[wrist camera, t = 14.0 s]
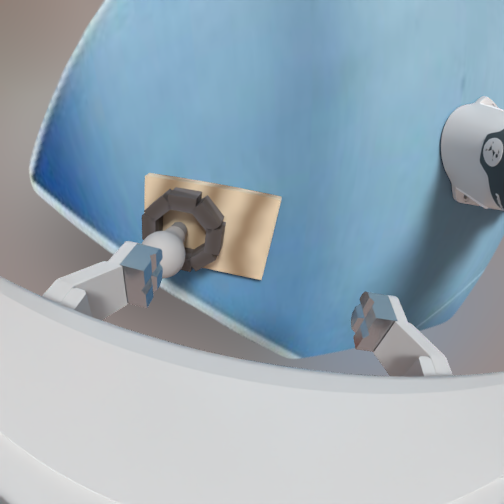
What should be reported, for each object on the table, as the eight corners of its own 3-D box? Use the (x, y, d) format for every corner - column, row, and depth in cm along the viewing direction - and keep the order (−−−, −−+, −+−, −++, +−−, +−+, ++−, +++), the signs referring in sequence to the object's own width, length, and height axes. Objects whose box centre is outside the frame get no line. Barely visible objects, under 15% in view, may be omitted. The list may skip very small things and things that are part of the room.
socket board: (281, 196, 39) (280, 208, 35) (261, 274, 46) (259, 291, 43) (149, 173, 39) (135, 182, 35) (149, 250, 46) (138, 264, 42)
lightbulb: (185, 251, 44) (162, 295, 34) (156, 227, 42) (124, 267, 33) (208, 226, 41) (186, 268, 32) (176, 200, 39) (144, 236, 30)
